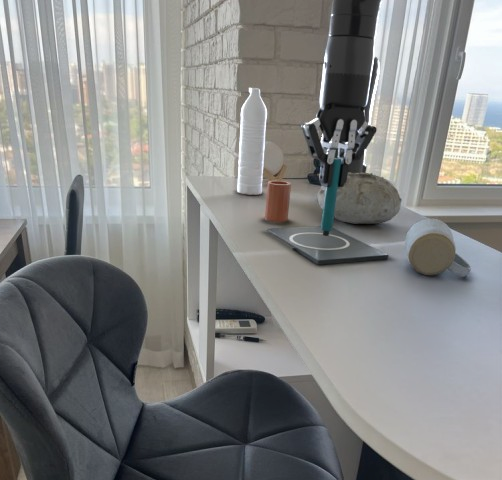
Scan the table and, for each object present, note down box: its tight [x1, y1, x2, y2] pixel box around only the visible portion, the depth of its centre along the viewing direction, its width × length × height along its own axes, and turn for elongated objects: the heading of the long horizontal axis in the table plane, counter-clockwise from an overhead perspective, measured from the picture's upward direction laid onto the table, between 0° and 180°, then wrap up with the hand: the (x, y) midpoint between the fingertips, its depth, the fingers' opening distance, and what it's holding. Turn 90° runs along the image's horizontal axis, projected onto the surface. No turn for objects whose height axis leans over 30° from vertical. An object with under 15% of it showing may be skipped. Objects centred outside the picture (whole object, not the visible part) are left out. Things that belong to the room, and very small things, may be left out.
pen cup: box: [264, 180, 292, 223], centre depth 105 cm, size 5×5×8 cm
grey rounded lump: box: [317, 172, 403, 225], centre depth 109 cm, size 18×18×10 cm
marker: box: [320, 158, 342, 236], centre depth 87 cm, size 2×2×13 cm
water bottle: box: [236, 87, 268, 196], centre depth 129 cm, size 9×6×25 cm
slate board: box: [266, 225, 389, 266], centre depth 93 cm, size 14×20×1 cm
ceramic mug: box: [404, 218, 472, 278], centre depth 81 cm, size 11×8×8 cm
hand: (332, 185), depth 86 cm, fingers closed on marker, 2 cm apart
